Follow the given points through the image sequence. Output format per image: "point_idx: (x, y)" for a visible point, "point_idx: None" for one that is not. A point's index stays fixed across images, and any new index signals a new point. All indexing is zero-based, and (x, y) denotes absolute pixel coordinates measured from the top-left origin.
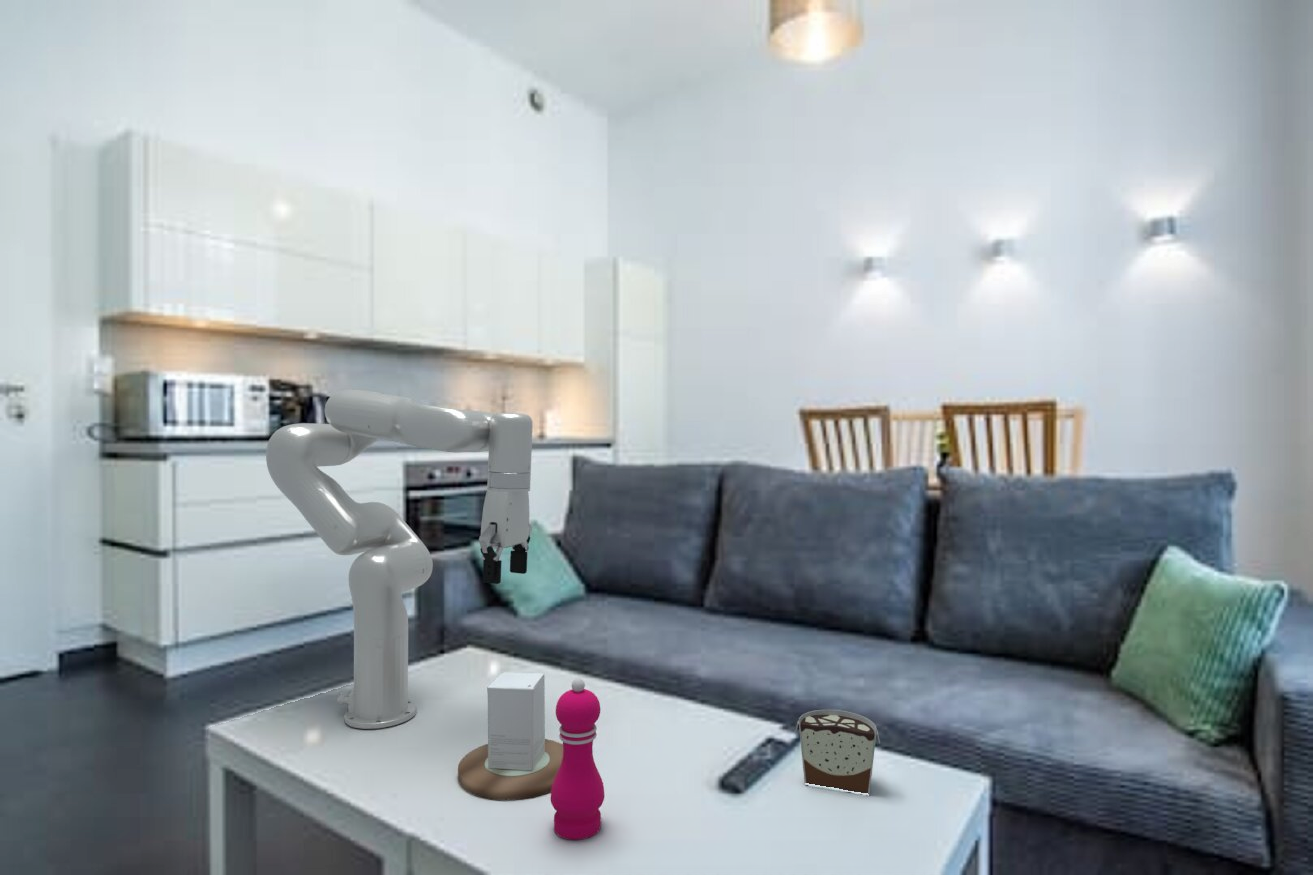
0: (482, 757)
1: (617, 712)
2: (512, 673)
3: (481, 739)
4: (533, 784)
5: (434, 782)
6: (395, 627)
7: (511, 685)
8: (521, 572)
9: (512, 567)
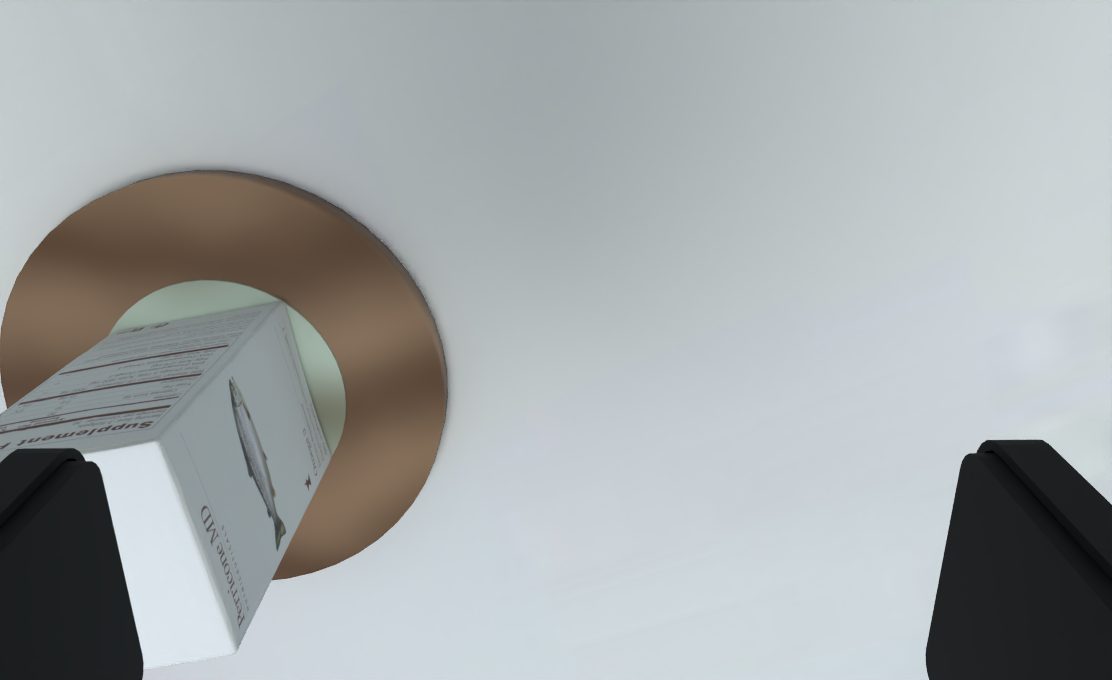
0: (195, 254)
1: (858, 518)
2: (154, 507)
3: (429, 103)
4: None
5: (21, 136)
6: None
7: None
8: (937, 633)
9: (996, 531)
